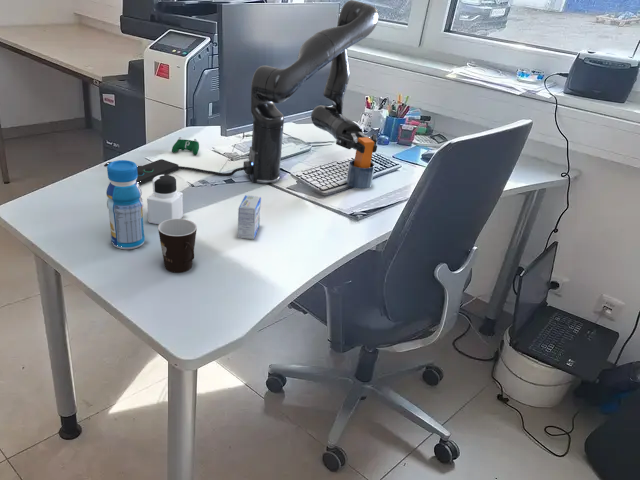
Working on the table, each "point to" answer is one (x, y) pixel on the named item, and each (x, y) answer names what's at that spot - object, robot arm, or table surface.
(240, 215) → the medicine box
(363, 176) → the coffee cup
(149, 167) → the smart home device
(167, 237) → the coffee mug
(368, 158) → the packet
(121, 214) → the beverage bottle
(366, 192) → the table surface
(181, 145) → the gaming controller
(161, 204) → the medicine bottle
